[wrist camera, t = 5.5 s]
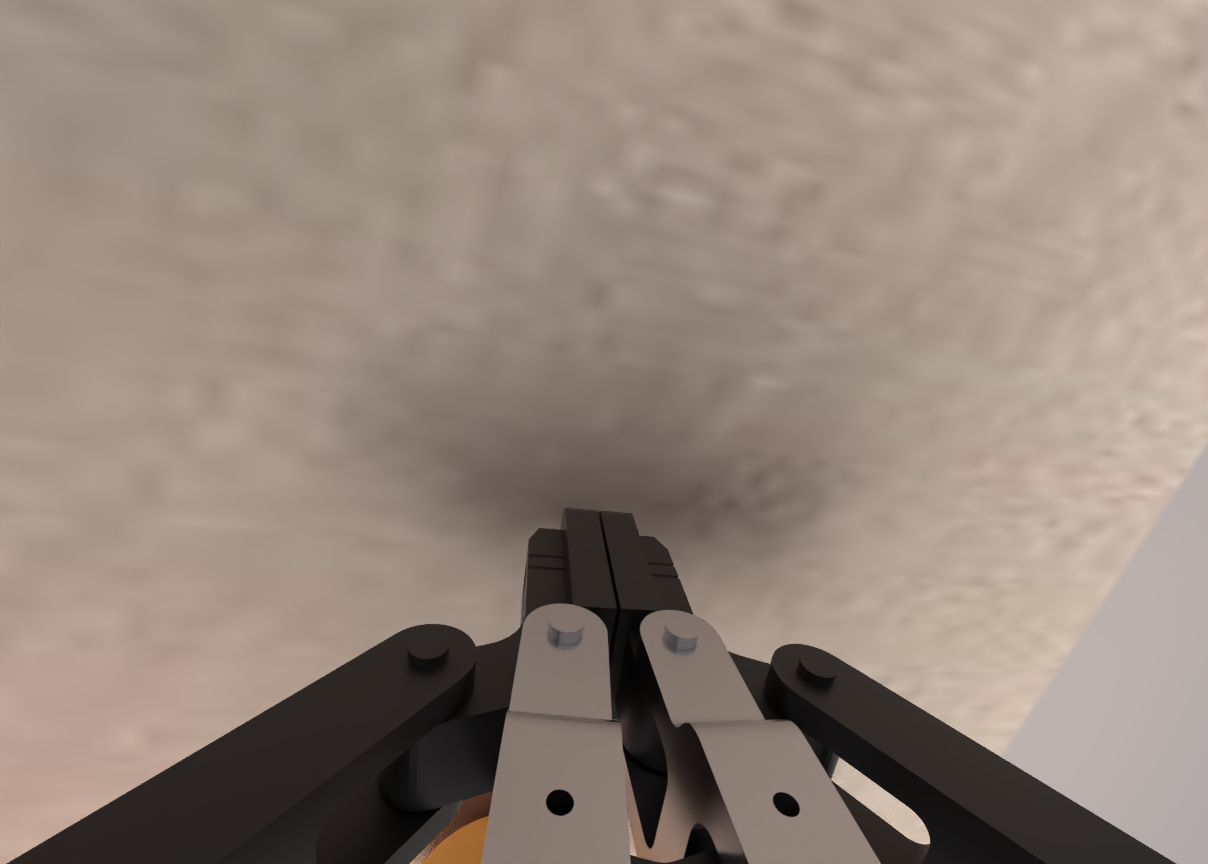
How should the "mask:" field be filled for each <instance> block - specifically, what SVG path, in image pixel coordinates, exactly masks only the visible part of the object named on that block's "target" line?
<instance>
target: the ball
mask: <svg viewBox="0 0 1208 864" xmlns="http://www.w3.org/2000/svg"><path fill="white" fill-rule="evenodd" d="M488 817H489V816H487V817H483V818H480V819H478V820H476V821H474V822H471V823H469V824H467V825H465V826H463V827H461V828H460V829H458V830H457V831H455V832H454V833H452V834H451V835H450V836H448V837H447V838H446V839H445V840H443V841H442V842H441V843H440V844H439V845H438V846H437V847H436V848H435V849H434V850H433V851H432V852H431V853H430V854H429V855H428V856H427V857H426V858H425V859H424V860H423V862H422V863H421V864H481V858H482V852H483V847H484V841H485V835H486V829H487V823H488Z"/></svg>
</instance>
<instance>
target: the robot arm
mask: <svg viewBox="0 0 1208 864" xmlns="http://www.w3.org/2000/svg"><path fill="white" fill-rule="evenodd" d="M612 719H613V720H612ZM839 757H840V758H842V759H843V760H844V761H846V762H847V763H848V764H850V765H851V766H853V767H854V768H855V769H857V770H858V771H860V772H861V773H862V774H864V775H865V776H866V777H868V778H869V779H871V780H872V781H873V782H875V783H876V784H877V785H879V786H880V787H882V788H883V789H884V790H886V791H887V792H888V793H890V794H891V795H893V796H894V797H895V798H897V799H898V800H900V801H901V802H902V803H904V804H905V805H906V806H908V807H909V808H910V809H912V810H913V811H914V812H915V813H916V814H917V815H918V816H919V817H920V818H921V820H922V821H923V823H924V824H925V826H926V828H927V830H928V832H929V835H930V844H927V845H924V844H919V843H916V842H913V841H911V840H910V839H908V838H907V837H905V836H904V835H903V834H901V833H900V832H899V831H897V830H896V829H895V828H893V827H892V826H891V825H889V824H888V823H887V822H885V821H884V820H883V819H881V818H880V817H879V816H878V815H876V814H875V813H874V812H872V811H871V810H870V809H868V808H867V807H866V806H864V805H863V804H862V803H860V802H859V801H858V800H856V799H855V798H854V797H853V796H851V795H850V794H849V793H847V792H846V791H845V790H843V789H842V788H841V787H839V786H838V785H837V784H835V783H834V782H833V781H831V778H832V775H833V772H834V770H835V767H836V764H837V761H838V758H839ZM491 791H493V794H492V800H491V806H490V812H489V817H488V823H487V829H486V835H485V841H484V847H483V852H482V858H481V864H1175V863H1174V862H1172V861H1171V860H1169V859H1168V858H1166V857H1164V856H1163V855H1161V854H1159V853H1158V852H1156V851H1154V850H1153V849H1151V848H1149V847H1148V846H1146V845H1145V844H1143V843H1141V842H1140V841H1138V840H1136V839H1135V838H1133V837H1131V836H1130V835H1128V834H1126V833H1125V832H1123V831H1121V830H1120V829H1118V828H1117V827H1115V826H1113V825H1112V824H1110V823H1108V822H1107V821H1105V820H1103V819H1102V818H1100V817H1098V816H1097V815H1095V814H1093V813H1092V812H1090V811H1089V810H1087V809H1085V808H1084V807H1082V806H1080V805H1079V804H1077V803H1075V802H1074V801H1072V800H1070V799H1069V798H1067V797H1066V796H1064V795H1062V794H1061V793H1059V792H1057V791H1056V790H1054V789H1052V788H1051V787H1049V786H1047V785H1046V784H1044V783H1042V782H1041V781H1039V780H1038V779H1036V778H1034V777H1032V776H1031V775H1029V774H1028V773H1026V772H1024V771H1023V770H1021V769H1019V768H1018V767H1016V766H1014V765H1013V764H1011V763H1010V762H1008V761H1006V760H1005V759H1003V758H1001V757H1000V756H998V755H996V754H995V753H993V752H991V751H990V750H988V749H987V748H985V747H983V746H982V745H980V744H978V743H977V742H975V741H973V740H972V739H970V738H968V737H967V736H965V735H963V734H962V733H960V732H959V731H957V730H955V729H954V728H952V727H950V726H949V725H947V724H945V723H944V722H942V721H940V720H939V719H937V718H935V717H934V716H932V715H931V714H929V713H927V712H926V711H924V710H922V709H921V708H919V707H917V706H916V705H914V704H912V703H911V702H909V701H908V700H906V699H904V698H903V697H901V696H899V695H898V694H896V693H894V692H893V691H891V690H889V689H888V688H886V687H884V686H883V685H881V684H880V683H878V682H876V681H875V680H873V679H871V678H870V677H868V676H866V675H865V674H863V673H861V672H860V671H858V670H856V669H855V668H853V667H852V666H850V665H848V664H847V663H845V662H843V661H842V660H840V659H838V658H837V657H835V656H833V655H831V654H830V653H828V652H826V651H823V650H821V649H818V648H815V647H812V646H808V645H802V644H789V645H784V646H781V647H780V648H778V649H777V650H776V651H775V652H774V654H773V656H772V660H771V663H770V664H768V663H764V662H761V661H757V660H754V659H750V658H746V657H743V656H740V655H737V654H734V653H731V652H729V651H727V649H726V647H725V645H724V643H723V642H722V640H721V638H720V636H719V634H718V633H717V631H716V630H715V629H714V628H713V627H712V626H711V625H710V624H708V623H707V622H706V621H704V620H703V619H701V618H699V617H697V616H695V615H693V612H692V610H691V607H690V605H689V602H688V600H687V597H686V595H685V592H684V590H683V587H682V584H681V582H680V579H678V574H677V572H676V569H675V567H673V562H672V559H671V557H670V554H669V552H668V550H667V549H666V548H665V547H664V546H663V545H662V544H661V543H660V542H659V541H658V540H657V539H656V538H654V537H649V536H639V533H638V530H637V527H636V524H635V521H634V518H633V515H632V513H622V512H610V511H599V512H598V511H597V510H584V509H572V508H564V511H563V516H562V523H561V530H557V529H544V528H539V529H538V530H537V531H536V532H535V533H534V534H533V536H532V537H531V538H530V539H529V543H528V551H527V560H526V569H525V578H524V586H523V595H522V608H521V626H520V628H519V629H518V630H517V631H516V632H515V633H513V634H512V635H511V636H509V637H507V638H505V639H503V640H501V641H498V642H495V643H491V644H487V645H482V646H476V647H475V644H474V642H473V640H472V639H471V638H470V637H469V636H468V635H467V634H465V633H464V632H463V631H461V630H459V629H457V628H454V627H451V626H447V625H440V624H425V625H418V626H414V627H410V628H407V629H405V630H402V631H400V632H398V633H397V634H395V635H393V636H391V637H390V638H388V639H386V640H385V641H383V642H381V643H380V644H378V645H376V646H374V647H373V648H371V649H369V650H368V651H366V652H364V653H363V654H361V655H359V656H358V657H356V658H354V659H352V660H351V661H349V662H347V663H346V664H344V665H342V666H341V667H339V668H337V669H336V670H334V671H332V672H330V673H329V674H327V675H325V676H324V677H322V678H320V679H319V680H317V681H315V682H314V683H312V684H310V685H308V686H307V687H305V688H303V689H302V690H300V691H298V692H297V693H295V694H293V695H292V696H290V697H288V698H286V699H285V700H283V701H281V702H280V703H278V704H276V705H275V706H273V707H271V708H269V709H268V710H266V711H264V712H263V713H261V714H259V715H258V716H256V717H254V718H253V719H251V720H249V721H247V722H246V723H244V724H242V725H241V726H239V727H237V728H236V729H234V730H232V731H231V732H229V733H227V734H225V735H224V736H222V737H220V738H219V739H217V740H215V741H214V742H212V743H210V744H209V745H207V746H205V747H203V748H202V749H200V750H198V751H197V752H195V753H193V754H192V755H190V756H188V757H186V758H185V759H183V760H181V761H180V762H178V763H176V764H175V765H173V766H171V767H170V768H168V769H166V770H164V771H163V772H161V773H159V774H158V775H156V776H154V777H153V778H151V779H149V780H148V781H146V782H144V783H142V784H141V785H139V786H137V787H136V788H134V789H132V790H131V791H129V792H127V793H126V794H124V795H122V796H120V797H119V798H117V799H115V800H114V801H112V802H110V803H109V804H107V805H105V806H104V807H102V808H100V809H98V810H97V811H95V812H93V813H92V814H90V815H88V816H87V817H85V818H83V819H81V820H80V821H78V822H76V823H75V824H73V825H71V826H70V827H68V828H66V829H65V830H63V831H61V832H59V833H58V834H56V835H54V836H53V837H51V838H49V839H48V840H46V841H44V842H43V843H41V844H39V845H37V846H36V847H34V848H32V849H31V850H29V851H27V852H26V853H24V854H22V855H21V856H19V857H17V858H15V859H14V860H12V861H10V862H9V863H7V864H409V863H410V862H411V861H412V860H413V859H414V858H415V857H416V856H417V855H418V854H419V853H420V852H421V851H422V850H423V849H424V848H425V847H426V846H427V845H428V844H429V843H430V842H431V841H432V840H433V839H434V838H435V837H436V836H437V835H438V834H439V833H440V832H441V831H442V830H443V829H444V828H445V827H446V826H447V825H448V824H449V823H450V822H451V821H452V819H453V818H454V817H455V816H456V815H457V813H458V811H459V810H460V808H461V805H462V803H463V800H465V799H468V798H471V797H475V796H478V795H481V794H484V793H487V792H491ZM627 813H628V817H629V822H630V826H631V831H632V835H633V840H634V844H635V849H636V853H637V857H636V856H632V855H630V846H629V831H628V817H627Z"/></svg>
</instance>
